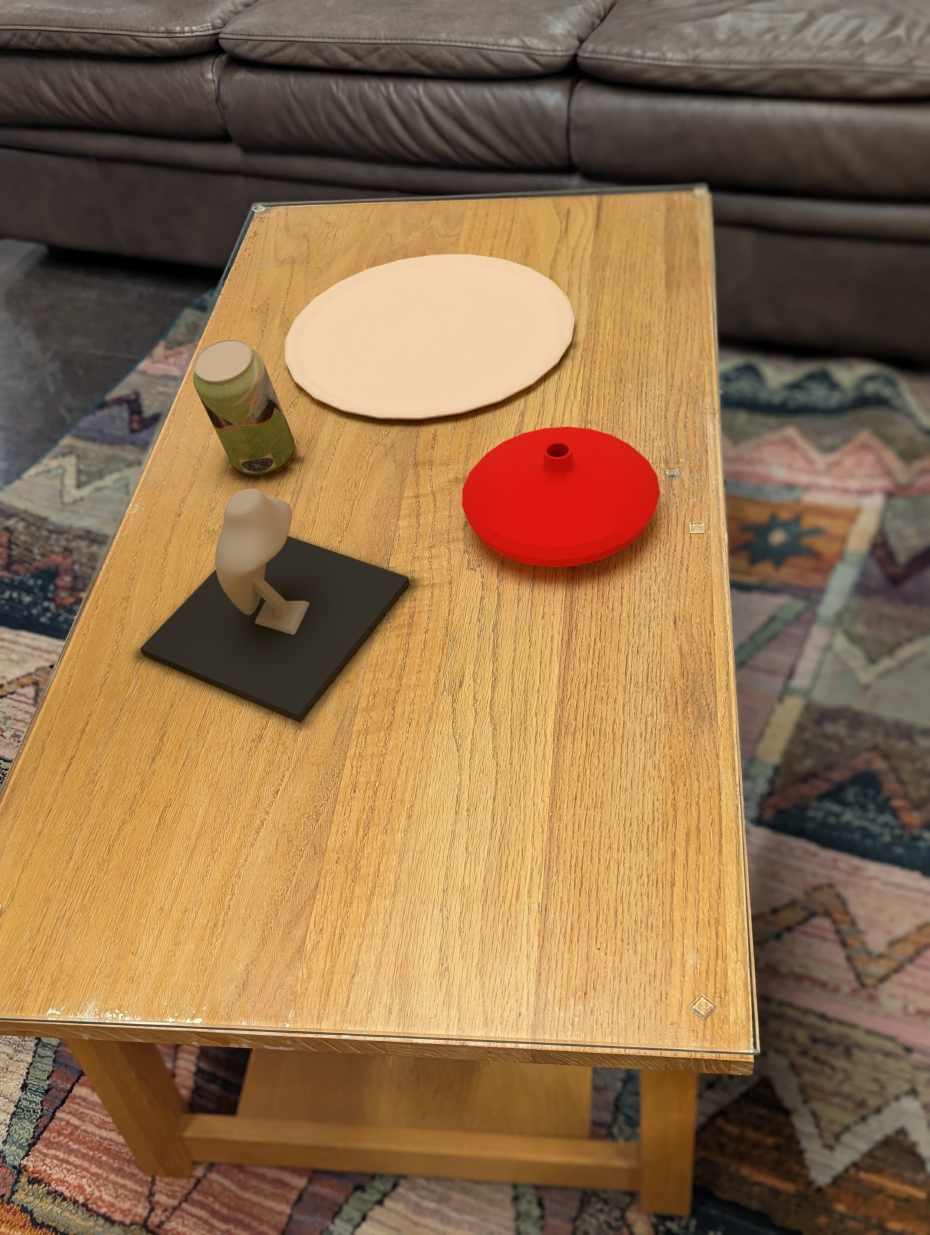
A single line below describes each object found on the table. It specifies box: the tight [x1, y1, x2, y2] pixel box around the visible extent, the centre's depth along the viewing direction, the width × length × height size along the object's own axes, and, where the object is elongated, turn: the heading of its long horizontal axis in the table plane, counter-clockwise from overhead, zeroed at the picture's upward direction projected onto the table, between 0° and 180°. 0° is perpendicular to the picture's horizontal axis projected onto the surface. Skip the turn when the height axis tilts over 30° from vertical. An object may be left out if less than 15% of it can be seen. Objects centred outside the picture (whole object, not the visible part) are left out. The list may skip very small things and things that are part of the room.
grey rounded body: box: [214, 487, 309, 635], centre depth 78 cm, size 8×5×12 cm
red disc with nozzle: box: [461, 426, 661, 568], centre depth 85 cm, size 16×16×7 cm
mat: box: [139, 535, 411, 722], centre depth 83 cm, size 15×15×1 cm
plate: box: [284, 253, 576, 420], centre depth 108 cm, size 29×29×1 cm
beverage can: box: [192, 338, 295, 475], centre depth 93 cm, size 6×7×12 cm
